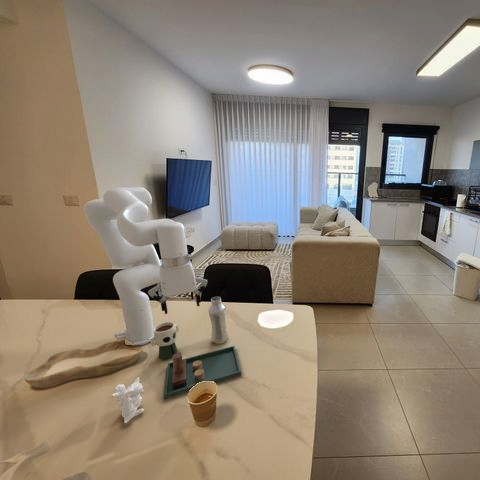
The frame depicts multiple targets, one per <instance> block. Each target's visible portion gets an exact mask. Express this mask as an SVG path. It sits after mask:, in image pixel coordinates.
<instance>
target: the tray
mask: <svg viewBox="0 0 480 480" xmlns="http://www.w3.org/2000/svg"><path fill="white" fill-rule="evenodd" d="M182 359H183V360H186V363H187V386H186V387H182V388H179V389H176V390H173V386H172V376H173V361H172V362H168V363H167V368H166V377H165V384H164V385H165V386H164V399H165V400H167V399H170V398H173V397H176V396H180V395H182V394H186V393H189V392H190V391H189V390H190V389H191V388H192V387H193V386H195V385H196V384H197V383H199V382H202V381H214V382H215V383H214V384H217V383H221V382H224V381H227V380H230V379H233V378H236V377H239V376H242V370H241V367H240V363H239V358H238V355H237V351H236V347H235V345H231V346H228V347H224V348H220V349H216V350H212V351H209V352H205V353H201V354H197V355H194V356H190V357H187V358H182ZM198 360H200V361H202V368H201V369H203V370H204V378H203V379H201V380H196V379H195V375H194V373H195V371H194V370H193V363H194V362H195V361H198Z"/></svg>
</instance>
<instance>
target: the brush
mask: <svg viewBox="0 0 480 480" xmlns="http://www.w3.org/2000/svg"><path fill="white" fill-rule="evenodd" d="M171 359H172V362H173V376H172V386H173V390H176V389H179V388H182V387H186V386H187V363H186V360H183V359H184V358H183V353H181V352H177V353H176V354H174V355H173V356H172V358H171Z"/></svg>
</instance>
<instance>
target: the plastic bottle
mask: <svg viewBox="0 0 480 480" xmlns="http://www.w3.org/2000/svg"><path fill="white" fill-rule="evenodd" d="M210 302H211V303H210V304H211V305H210V307H209V308H208V317H209V319H210V324H211V341H212V343H214V344H215V345H221V344H224V343H226V342H227V341H228V339H229V332H228V329H227V324H226V306H224V304H223V303H222V298H221V296H213V297H211V298H210Z"/></svg>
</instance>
